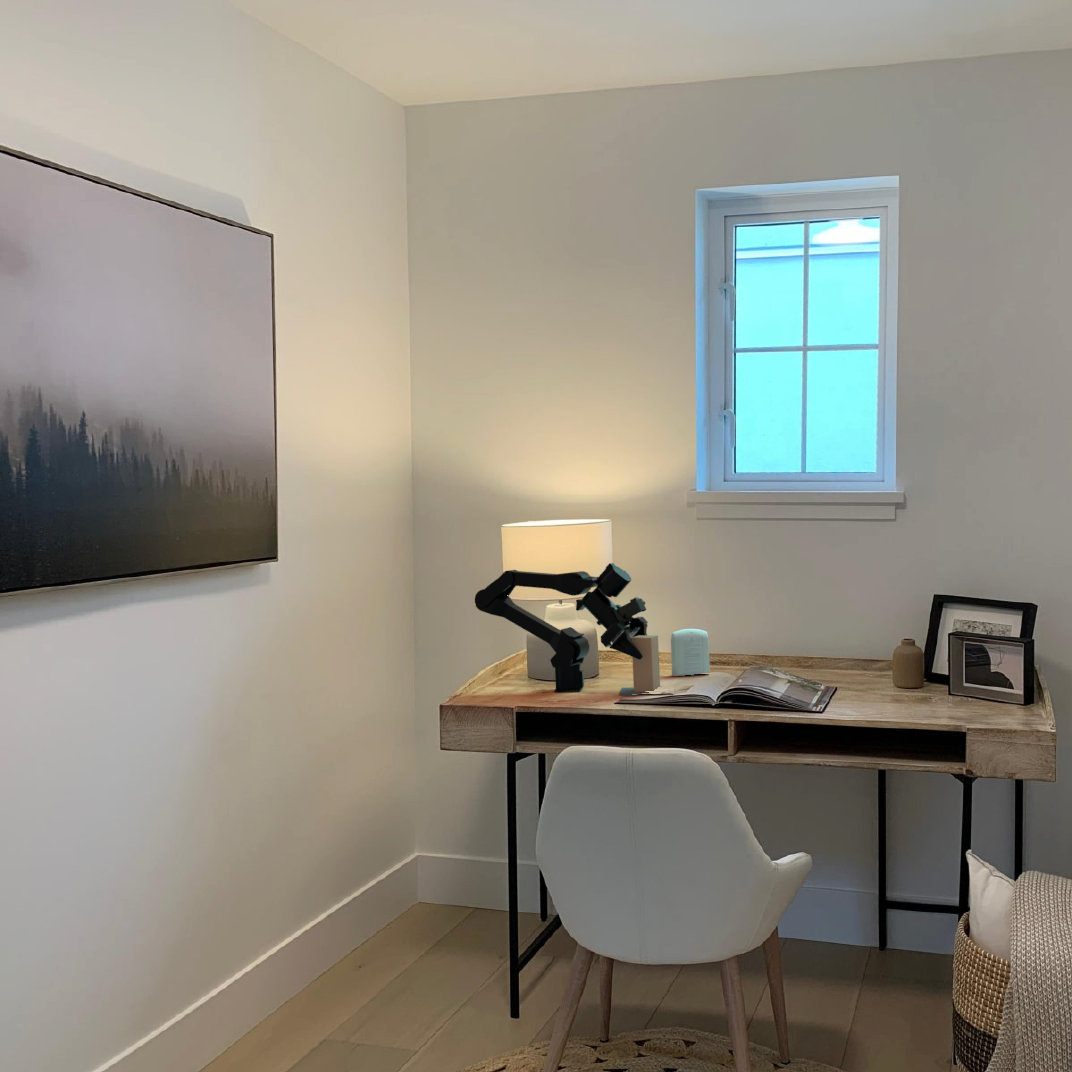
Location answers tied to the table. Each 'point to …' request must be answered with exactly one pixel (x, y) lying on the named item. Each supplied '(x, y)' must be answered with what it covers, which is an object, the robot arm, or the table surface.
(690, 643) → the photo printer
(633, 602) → the robot arm
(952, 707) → the table surface
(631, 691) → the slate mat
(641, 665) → the beige rectangular block
